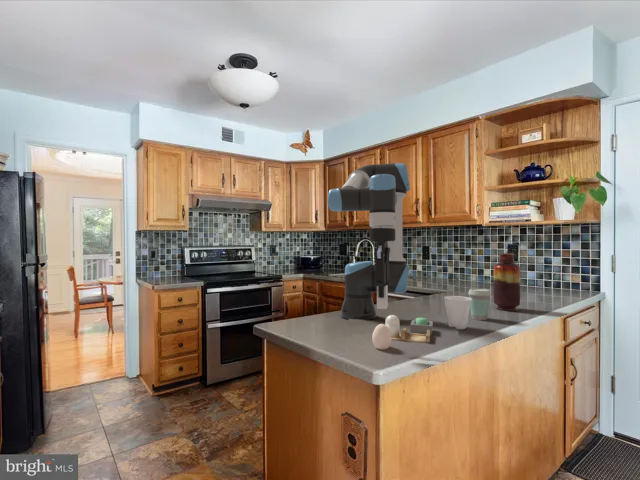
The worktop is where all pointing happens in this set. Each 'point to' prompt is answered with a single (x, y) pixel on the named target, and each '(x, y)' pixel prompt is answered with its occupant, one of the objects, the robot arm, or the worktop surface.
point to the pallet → (413, 337)
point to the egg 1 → (381, 337)
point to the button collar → (421, 327)
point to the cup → (457, 311)
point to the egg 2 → (393, 325)
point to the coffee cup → (479, 303)
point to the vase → (507, 283)
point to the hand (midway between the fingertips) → (382, 307)
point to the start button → (422, 321)
